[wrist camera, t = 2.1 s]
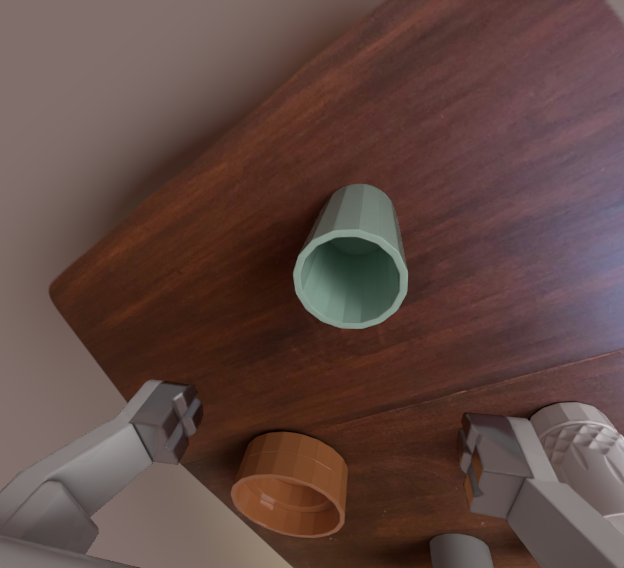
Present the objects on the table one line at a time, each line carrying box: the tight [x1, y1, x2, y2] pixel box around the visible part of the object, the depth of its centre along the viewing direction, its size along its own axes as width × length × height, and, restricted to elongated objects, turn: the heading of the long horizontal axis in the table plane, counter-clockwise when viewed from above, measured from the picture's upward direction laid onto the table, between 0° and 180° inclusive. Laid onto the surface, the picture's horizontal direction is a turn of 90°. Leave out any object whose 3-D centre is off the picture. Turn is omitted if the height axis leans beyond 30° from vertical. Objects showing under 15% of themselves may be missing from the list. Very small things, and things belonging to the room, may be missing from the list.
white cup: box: [530, 402, 624, 535], centre depth 28 cm, size 8×8×10 cm
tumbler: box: [293, 184, 408, 329], centre depth 21 cm, size 6×6×10 cm
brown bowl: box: [231, 432, 348, 538], centre depth 41 cm, size 14×14×6 cm
